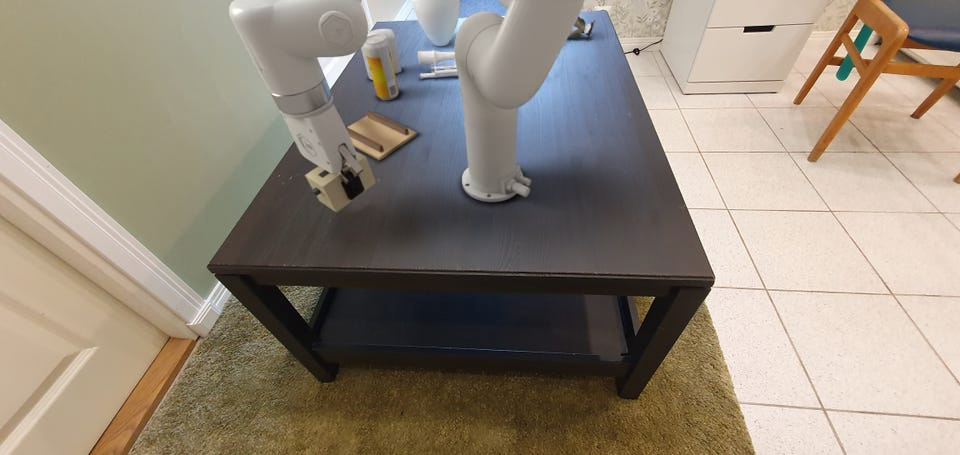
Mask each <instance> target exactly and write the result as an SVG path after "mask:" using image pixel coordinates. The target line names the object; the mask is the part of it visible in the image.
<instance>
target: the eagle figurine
mask: <svg viewBox="0 0 960 455" xmlns="http://www.w3.org/2000/svg"><path fill="white" fill-rule="evenodd" d="M595 22H596V19H593V21H591V22H590V23H586V21H585V20H584V18H582V17H580V15H579V16H578V18H577V20H576V22H575V24H574V26H573V28H574V27H575V28H577V29H573V30H571V32H570V34H569V36H568V38H567V40H568V39H570V38H574V37H575V38H576V37H580V36H581V35H582V34H584V35H586V36H587V38H588V39H589V40H590V39H591V34H593V28H594V25H595Z"/></svg>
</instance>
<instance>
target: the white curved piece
mask: <svg viewBox="0 0 960 455" xmlns="http://www.w3.org/2000/svg"><path fill="white" fill-rule="evenodd" d="M371 35H383V36H385V38H386V39H387V41H388V44H389V48H390V53H391V57H392V62H393V66H394V71H395V75H396V74H398V73H401V72H402V66H401V65H402V64H401V60H400V56H399V50H398V44H397V40H396V36H395V33H394V31H393V30H392V29H390V28H377V29H373V30H370V31H368V35H367V37H368V36H371ZM360 50H361V53H362V56H363V61H364V64H365V68H366V72H367V75H368V76H367V77H368V79H370V80H371V81H373V79H372V75H371V71H370V68H369V64H368V60H367V57H366V53H365V49H364V45H363V46H362V47H361V48H360Z"/></svg>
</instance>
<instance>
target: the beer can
mask: <svg viewBox="0 0 960 455" xmlns="http://www.w3.org/2000/svg"><path fill="white" fill-rule="evenodd" d="M364 49H365V53H366V57H367V60H368V64H369V68H370V71H371V75H372V79H373V80H372V82H373V85H374V90H375V93H376V96H377V97H378V98H379V99H381V100H382V101H390V100H393V99H396V98H397V97H398V95H399V93H400V89H399V85H398V80H397V75H396V74H395V71H394V66H393V62H392V57H391V53H390V48H389V44H388V41H387V39H386V38H385V36H383V35H371V36H368V37H367V39H366V41H365V43H364Z"/></svg>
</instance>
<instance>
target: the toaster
mask: <svg viewBox="0 0 960 455" xmlns="http://www.w3.org/2000/svg"><path fill="white" fill-rule="evenodd" d="M356 154H357V160H356V161H357V162H358V163H359V165H360V166H361V167H362V169H363V171H362V172H361V173H360V175H359V177H360V179H361V182H362V184H363V186H364V189H365V190H364V192H366V191H367V190H369V189H370V188H371V187H372V186H374V185H375V184H376V183H377V182H376V178H375V176H374V173H373V171H372V168H371V166H370V163H369V160H368V158H367V156H366V155H363V154H362V153H360V152H359V151H356ZM342 162H343V159H342ZM342 170H343V172H344V173H345V175H346V173H347V172H348V171H350V169H349V167H348V166H346V167H345V168H343V169H342ZM304 177H305V178H306V180H307V183H309V185H310V187H311V192H312V194H313V195H315V196H316V198H317V199H318V201H319V202H320V203H322V204H323V205H325V206H326V207H328V208H329V209H331V210H332V211H334V212H335V213H338V212H339V211H341V210H342V209H344V208H345V207H346V206H347V205H349V204H350V203H351V202H353V201H354V200H356V198H358V197H359V196H360V195H362V194H364V192H362V193H361V194H360V195H358V196H357V197H356V198H354V199H353V200H350V199H349V198H348V196H347V194H346V192H345V190H344V188H343V186H342V184H341V182H342V179H341V178H340V176H339V174H338V173H337V174H333V173H330V172H328V171H326V170H324V169H323V168H321V167H319V166H317V167H315V168H313V169H312V170H311V171H309V172H308V173H306V174H305V175H304Z"/></svg>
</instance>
